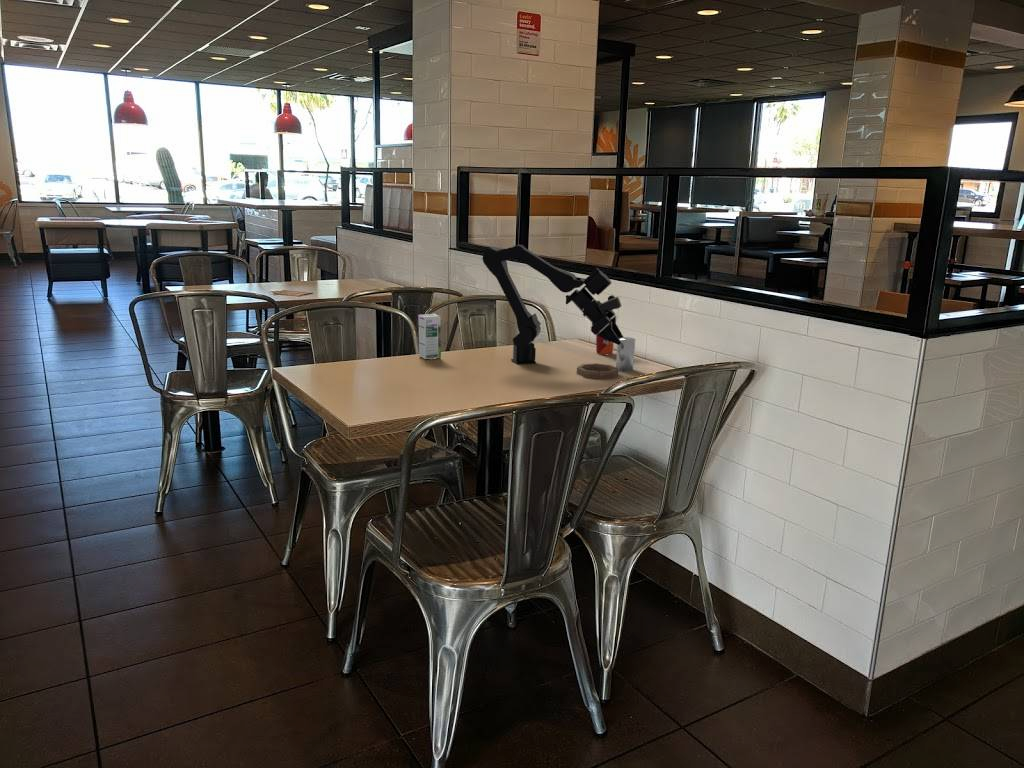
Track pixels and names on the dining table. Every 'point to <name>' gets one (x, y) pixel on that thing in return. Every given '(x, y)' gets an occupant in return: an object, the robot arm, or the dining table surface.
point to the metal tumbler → (625, 354)
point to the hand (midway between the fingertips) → (621, 341)
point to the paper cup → (604, 344)
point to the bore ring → (604, 369)
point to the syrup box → (430, 336)
